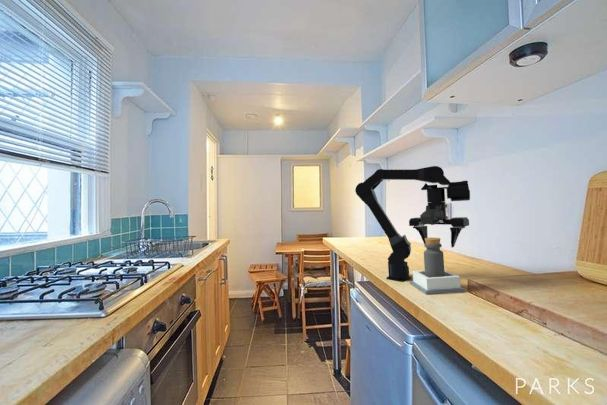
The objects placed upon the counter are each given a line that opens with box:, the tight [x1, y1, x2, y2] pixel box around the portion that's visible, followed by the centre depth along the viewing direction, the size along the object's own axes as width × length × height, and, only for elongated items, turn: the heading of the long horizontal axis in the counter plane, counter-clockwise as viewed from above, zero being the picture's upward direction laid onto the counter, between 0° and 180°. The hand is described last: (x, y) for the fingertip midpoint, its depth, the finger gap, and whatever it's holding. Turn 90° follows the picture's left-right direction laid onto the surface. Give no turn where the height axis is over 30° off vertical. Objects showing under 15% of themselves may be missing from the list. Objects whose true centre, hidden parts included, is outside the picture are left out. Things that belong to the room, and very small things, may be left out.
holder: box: [409, 269, 466, 295], centre depth 93 cm, size 12×12×4 cm
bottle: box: [423, 237, 445, 278], centre depth 93 cm, size 6×6×15 cm
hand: (438, 246), depth 101 cm, fingers open, 9 cm apart
